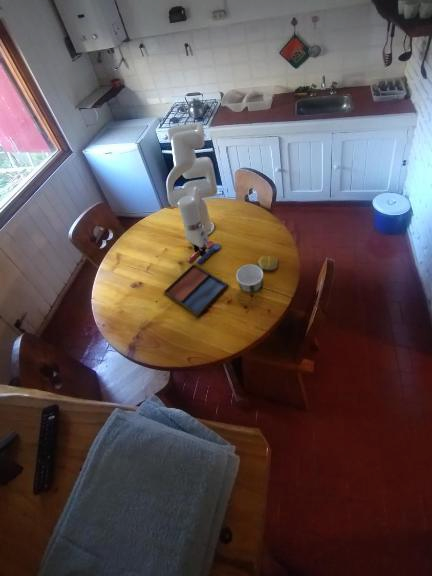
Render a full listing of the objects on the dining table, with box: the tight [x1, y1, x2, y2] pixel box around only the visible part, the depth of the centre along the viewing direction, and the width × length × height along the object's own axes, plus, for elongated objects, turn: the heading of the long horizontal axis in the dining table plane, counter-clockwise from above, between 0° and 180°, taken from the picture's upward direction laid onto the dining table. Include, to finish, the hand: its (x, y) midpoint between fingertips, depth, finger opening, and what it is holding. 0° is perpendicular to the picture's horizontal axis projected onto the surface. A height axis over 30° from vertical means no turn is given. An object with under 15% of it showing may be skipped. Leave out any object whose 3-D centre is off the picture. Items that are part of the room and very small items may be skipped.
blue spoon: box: [196, 243, 221, 265], centre depth 176 cm, size 16×4×2 cm, turn 139°
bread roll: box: [257, 255, 279, 271], centre depth 164 cm, size 8×9×4 cm
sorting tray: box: [163, 263, 229, 318], centre depth 160 cm, size 22×20×2 cm
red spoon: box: [187, 240, 215, 265], centre depth 156 cm, size 16×4×2 cm, turn 140°
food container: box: [235, 264, 264, 293], centre depth 156 cm, size 12×12×6 cm
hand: (200, 253), depth 157 cm, fingers closed on red spoon, 2 cm apart
